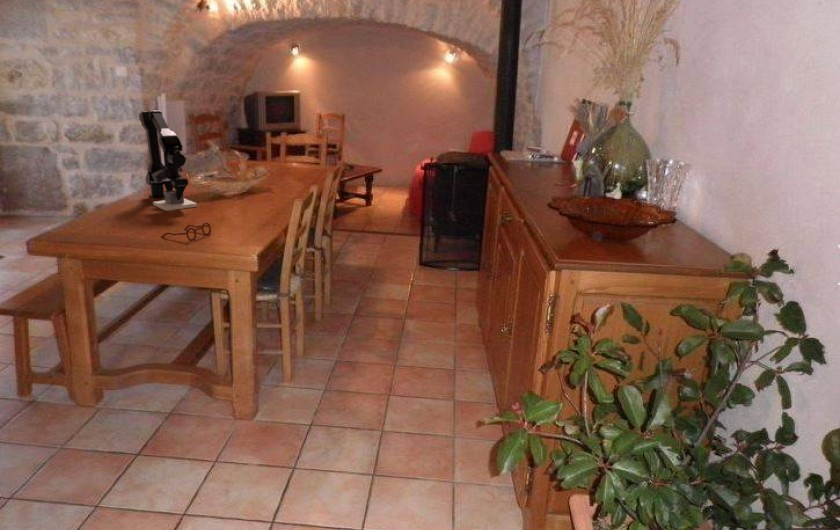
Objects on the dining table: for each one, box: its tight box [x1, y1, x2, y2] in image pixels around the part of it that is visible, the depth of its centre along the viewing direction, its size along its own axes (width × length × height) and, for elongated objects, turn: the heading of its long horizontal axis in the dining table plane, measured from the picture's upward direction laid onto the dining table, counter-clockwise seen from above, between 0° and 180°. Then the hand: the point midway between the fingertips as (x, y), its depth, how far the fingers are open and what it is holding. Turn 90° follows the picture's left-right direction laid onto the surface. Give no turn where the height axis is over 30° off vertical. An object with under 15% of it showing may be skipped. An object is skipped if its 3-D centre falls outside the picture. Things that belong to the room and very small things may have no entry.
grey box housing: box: [164, 189, 185, 205], centre depth 284 cm, size 6×6×5 cm
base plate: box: [152, 197, 198, 212], centre depth 284 cm, size 14×14×6 cm
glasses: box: [160, 222, 212, 242], centre depth 240 cm, size 13×13×5 cm
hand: (174, 198), depth 284 cm, fingers open, 9 cm apart
